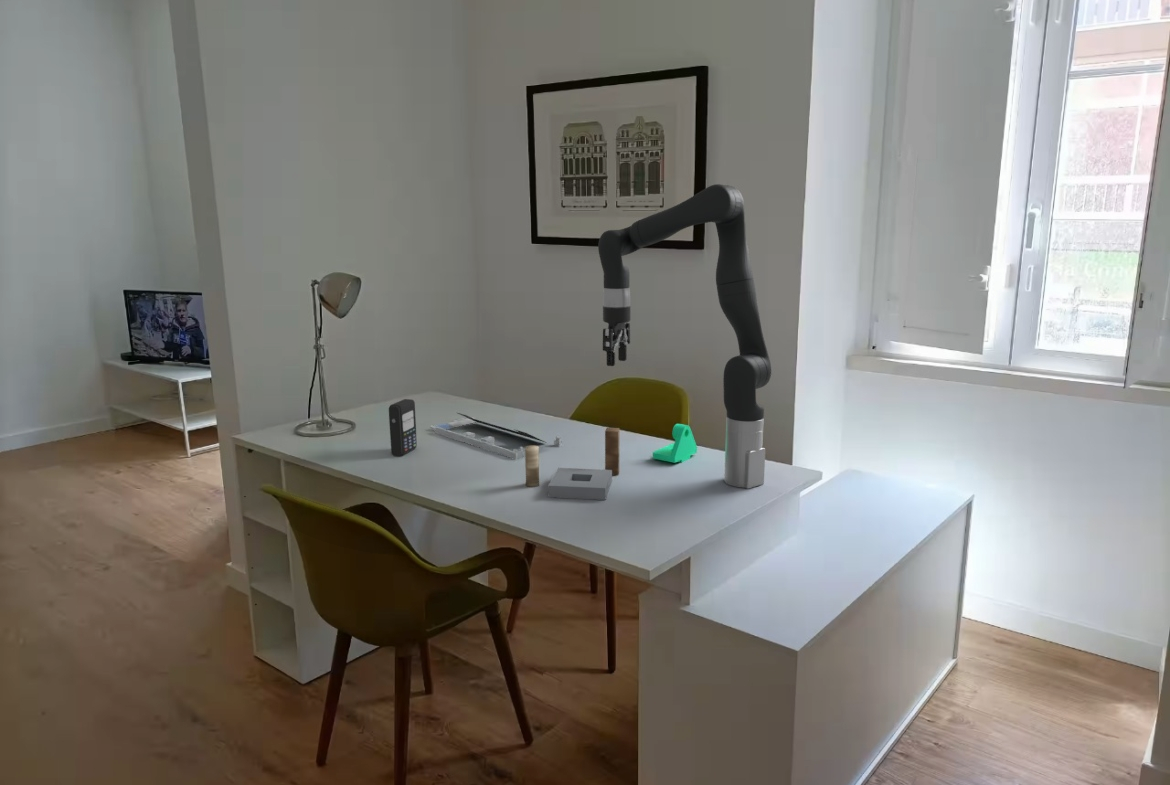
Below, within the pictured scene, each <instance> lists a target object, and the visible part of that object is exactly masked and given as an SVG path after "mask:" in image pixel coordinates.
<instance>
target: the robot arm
mask: <svg viewBox="0 0 1170 785" xmlns="http://www.w3.org/2000/svg"><path fill="white" fill-rule="evenodd" d="M706 223H714V224H715V228H716V232H717V233H716V234H717V236H718V248H719V249H718V258H717V262H716V270H715V285H716V290H717V297H718V302H719V306H720V308H721V310H722V312H723V314H724V316H725V317H726V319H727V320H728V323H730V325H731V327H732V329H733V331H734V332H735V335H736V339H737V344H738V350H739V355H736V356H733V357H731V358H729V359H728V361H727V362H726V364H725V366H724V370H723V377H722V378H723V404H724V408H725V410H726V418H725V419H726V420H725V421H726V422H725V423H726V424H725V425H726V426H725V448H724V449H725V450H724V451H725V453H724V481H723V482H724V483H726V484H727V485H729V486H731V487H736V488H737V487H738V488H744V489H751V488H755V487H758V486H761V485H764V483H765V470H766V469H765V468H766V464H765V463H766V448H765V447H763V438H764V422H765V420H764V418H765V417H764V416H765V408H764V407H763V405H761V404H760V403H758V402H757V392H756V391H757V390H758V389H761V388H763V387H765V386H766V385H767V384H768V383H769V382H770V380H771V377H772V376H771V375H772V366H771V365H772V364H771V360H770V356H769V353H768V348H767V345H766V342H765V338H764V334H763V329H762V323H761V317H760V313H759V306H758V300H757V293H756V292H757V291H756V286H755V279H754V278H755V277H754V274H753V270H752V269H753V268H752V263H751V256H750V251H749V246H748V245H749V244H748V240H747V239H748V238H747V231H746V230H747V228H746V226H747V225H746V210H745V201H744V198H743V194H742V193H741V191H740V190H738V189H737V188H736V187H735V186H732V185H729V184H722V183H721V184H720V183H719V184H718V183H717V184H713V185H709V186H708V187H706V188H704V189H702V190H701V191H699V192H698V193H695V194H694V195H693V196H691V197H690V198H688V199H686V200H684V201H682V202H680V203H678V204H676V205H674V206H671V207H670V208H667V209H664V210H662V211H659V212H657V213H654V214H651V215H648V216H645V217H644V218H641V219H638V220H637V221H635V222H633V223H632V224H631V225H629V226H628V227H625V228H622V229H621V228H620V229H610V230H609V229H608V230H605V231H604V232H603V233H602V234H601V235H600V237H599V240H598V246H597V247H598V255H599V259H600V264H601V268H602V272H603V292H602V321H603V322H604V323H607V324H608V326H607V328H603V329H602V351H604V352H605V353H606V366H608V367H614V366H615V365H616V348H617V346H618V348H617V350H618V352H617V353H618V361H620V362H625V361H627V358H628V357H627V356H628V355H627V353H628V352H627V348H628V347H629V345H630V344H631V323H630V321H631V290H630V269H629V268H628V267H627V266H626V265H624V262H623V256H627V255H631V254H632V253H635V252H636V251H639V250H640V249H643V248H644V247H648V246H651V245H653V244H657V243H659V242H662V241H664V240H666V239H669V238H670V237H672V236H674V235H675V234H676V233H679V232H680V231H683V230H684V229H686V228H689V227H691V226H692V227H693V226H697V225H700V224H701V225H702V224H706Z"/></svg>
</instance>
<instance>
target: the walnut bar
mask: <svg viewBox="0 0 1170 785" xmlns="http://www.w3.org/2000/svg"><path fill="white" fill-rule="evenodd" d="M604 439H605V440H604V448H605V449H604V451H605V452H604V453H605V454H604V455H605V456H604V458H605V459H604V470H612V476H619V473H620V427H606V429H605V430H604Z"/></svg>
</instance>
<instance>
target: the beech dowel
mask: <svg viewBox="0 0 1170 785" xmlns="http://www.w3.org/2000/svg"><path fill="white" fill-rule="evenodd" d="M539 448H540V447H539V446H538V445H534V444H533V445H531V444H530V445H527V446H525V447H524V459H525V460H524V461H525V486H526V487H527V486H528V487H529V488H537V487H539V486H540V460H539V457H540V451H539V450H540V449H539Z"/></svg>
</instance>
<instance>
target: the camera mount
mask: <svg viewBox="0 0 1170 785" xmlns="http://www.w3.org/2000/svg"><path fill="white" fill-rule="evenodd" d="M671 432H672V433H671V434H672V438H673V439H674V442H673V443H671V444H668V445H666V446H663V447H661V448H658V449H657V450H654V451H652V459H654V460H659V461H664V462H670V463H684V462H686V461H688V460H690V459H691V456H693V455H695V454H697V453H698V446H697V443H696V441H695V438H694V433H693V432H692V429H691V427H690V425H687V424H682V423H676V424H674V426H673V428H672V431H671Z"/></svg>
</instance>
